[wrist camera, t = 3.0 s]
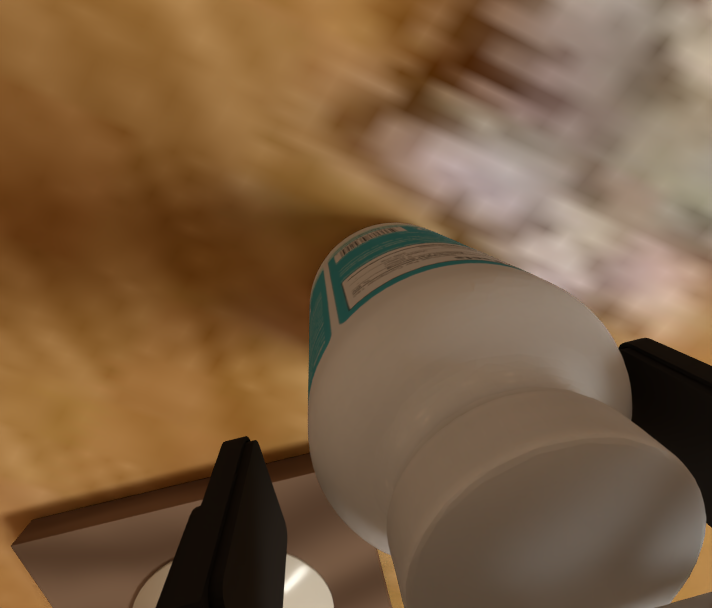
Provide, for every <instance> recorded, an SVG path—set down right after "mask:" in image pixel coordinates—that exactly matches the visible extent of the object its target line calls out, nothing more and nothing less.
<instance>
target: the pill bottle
mask: <svg viewBox="0 0 712 608" xmlns="http://www.w3.org/2000/svg"><path fill="white" fill-rule="evenodd" d="M631 418H632V394H631V386H630V381H629V376H628V372H627V369H626V366H625V363H624V360H623V358H622V355H621V353H620V351H619V349H618V347H617V345H616V343H615V341H614V339H613V338H612V336H611V335H610V333H609V332H608V330H607V329H606V327H605V326H604V324H603V323H602V322H601V321H600V320H599V319H598V318H597V317H596V315H595V314H594V313H593V312H592V311H591V310H590V309H589V308H587V307H586V306H585V305H584V304H583V303H582V302H580V301H579V300H578V299H577V298H575V297H574V296H572V295H571V294H570V293H568V292H567V291H565V290H563V289H561V288H559V287H557V286H556V285H554V284H552V283H550V282H548V281H545V280H543V279H541V278H539V277H537V276H535V275H533V274H530V273H528V272H526V271H524V270H522V269H519V268H517V267H514V266H512V265H510V264H507V263H505V262H503V261H501V260H498V259H496V258H494V257H492V256H489V255H487V254H485V253H482V252H480V251H477V250H475V249H473V248H470V247H468V246H466V245H463V244H461V243H459V242H456V241H454V240H452V239H449V238H447V237H445V236H442V235H440V234H438V233H435V232H433V231H430V230H428V229H425V228H422V227H419V226H416V225H412V224H406V223H383V224H378V225H373V226H370V227H366V228H364V229H362V230H359V231H357V232H355V233H353V234H352V235H350V236H348V237H347V238H345V239H344V240H343V241H342V242H340V243H339V244H338V245H337V246H336V247H335V248H334V249H333V250H332V251H331V252H330V253H329V254H328V256H327V257H326V258H325V260H324V261H323V263H322V264H321V266H320V268H319V270H318V272H317V274H316V277H315V279H314V282H313V285H312V290H311V296H310V313H309V380H308V440H309V448H310V455H311V460H312V464H313V468H314V471H315V474H316V477H317V479H318V482H319V484H320V487H321V489H322V491H323V493H324V494H325V496H326V498H327V500H328V501H329V503H330V504H331V506H332V507H333V509H334V510H335V511H336V513H337V514H338V516H339V517H340V518H341V519H342V520H343V521H344V522H345V523H346V524H347V526H348V527H349V528H351V529H352V530H353V531H354V532H355V533H356V534H357V535H359V536H360V537H361V538H362V539H363V540H365V541H366V542H368V543H369V544H370V545H372V546H374V547H375V548H377V549H379V550H381V551H382V552H384V553H387V554H389V555H391V557H392V560H393V564H394V567H395V571H396V575H397V580H398V584H399V588H400V592H401V597H402V601H403V604H404V607H405V608H656V607H659V606H663V605H667V604H670V603H671V601H672V600H673V599H674V597H675V596H676V595H677V593H678V592H679V591H680V589H681V588H682V587H683V585H684V584H685V582H686V581H687V579H688V577H689V576H690V574H691V572H692V570H693V568H694V566H695V564H696V562H697V559H698V556H699V553H700V550H701V548H702V544H703V540H704V537H705V527H706V513H705V506H704V501H703V498H702V494H701V491H700V489H699V487H698V485H697V483H696V480H695V478H694V477H693V476H692V474H691V473H690V471H689V470H688V469H687V468H686V466H685V465H684V464H683V463H682V462H681V461H680V460H679V459H678V458H677V457H676V456H675V455H674V454H673V453H672V452H670V451H669V450H668V449H666V448H665V447H664V446H663V445H661V444H660V443H659V442H658V441H656V440H655V439H654V438H653V437H651V436H650V435H649V434H648V433H646V432H645V431H644V430H643V429H641V428H640V427H639V426H637V425H636V424H635V423H633V422H632V421H631Z"/></svg>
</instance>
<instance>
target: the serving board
mask: <svg viewBox="0 0 712 608" xmlns="http://www.w3.org/2000/svg"><path fill="white" fill-rule="evenodd" d="M266 467H267V470H268V473H269V476H270V478H271V481H272V484H273V487H274V490H275V493H276V496H277V499H278V502H279V505H280V508H281V511H282V514H283V517H284V520H285V523H286V527H287V554H286V569H285V584H284V599H283V608H392V606H391V602H390V598H389V594H388V590H387V586H386V582H385V578H384V575H383V571H382V567H381V563H380V559H379V555H378V551H377V548H375V547H374V546H372V545H370V544H369V543H368V542H366V541H365V540H363V539H362V538H361V537H360V536H359V535H357V534H356V533H355V532H354V531H353V530H352V529H351V528H349V527H348V526H347V524H346V523H345V522H344V521H343V520H342V519H341V518H340V517H339V516H338V514H337V513H336V511H335V510H334V509H333V507H332V506H331V504H330V503H329V501H328V500H327V498H326V496H325V494H324V493H323V491H322V489H321V487H320V484H319V482H318V479H317V477H316V474H315V471H314V468H313V464H312V460H311V455H310V453H309V454H305V455H301V456H297V457H292V458H288V459H284V460H280V461H276V462H272V463H268V464H266ZM210 478H211V477H209V478H205V479H201V480H197V481H193V482H189V483H184V484H180V485H176V486H172V487H168V488H164V489H159V490H155V491H151V492H147V493H143V494H139V495H134V496H130V497H126V498H122V499H118V500H114V501H110V502H105V503H101V504H97V505H93V506H89V507H85V508H80V509H76V510H72V511H68V512H64V513H60V514H56V515H51V516H47V517H43V518H39V519H35V520H32V521H31V522H30V523H29V524H28V526H27V527H26V528H25V529H24V531H23V532H22V533H21V534H20V535H19V537H18V538H17V539H16V540H15V542H14V543H13V544H12V545H11V547H12V549H13V550H14V552H15V553H16V555H17V556H18V557H19V559H20V560H21V562H22V563H23V565H24V566H25V568H26V569H27V571H28V572H29V573H30V575H31V576H32V578H33V579H34V581H35V582H36V584H37V585H38V587H39V588H40V589H41V591H42V592H43V594H44V595H45V597H46V598H47V600H48V601H49V603H50V604H51V606H52V607H53V608H156V605H157V602H158V599H159V597H160V594H161V591H162V589H163V586H164V583H165V581H166V578H167V575H168V573H169V570H170V567H171V565H172V562H173V559H174V556H175V554H176V551H177V548H178V546H179V543H180V540H181V538H182V535H183V532H184V530H185V527H186V524H187V522H188V519H189V516H190V514H191V512H192V510H193V509H194V508H196V507H198V506H201V503H202V501H203V498H204V495H205V492H206V489H207V486H208V483H209V480H210Z"/></svg>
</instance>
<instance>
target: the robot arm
mask: <svg viewBox="0 0 712 608" xmlns="http://www.w3.org/2000/svg"><path fill="white" fill-rule="evenodd" d="M618 349H619V351H620V353H621V355H622V358H623V360H624V363H625V366H626V369H627V372H628V376H629V381H630V386H631V394H632V418H631V421H632V422H633V423H635V424H636V425H637V426H639V427H640V428H641V429H643V430H644V431H645V432H646V433H648V434H649V435H650V436H651V437H653V438H654V439H655V440H656V441H658V442H659V443H660V444H661V445H663V446H664V447H665V448H666V449H668V450H669V451H670V452H672V453H673V454H674V455H675V456H676V457H677V458H678V459H679V460H680V461H681V462H682V463H683V464H684V465H685V466H686V468H687V469H688V470H689V471H690V473H691V474H692V476H693V477H694V478H695V480H696V483H697V485H698V487H699V489H700V491H701V494H702V498H703V501H704V506H705V513H706V523H707V524H708V525H709V526H711V527H712V366H711V365H708V364H706V363H704V362H701V361H699V360H697V359H695V358H692V357H690V356H688V355H686V354H683V353H681V352H679V351H677V350H674V349H672V348H670V347H667V346H665V345H663V344H661V343H658V342H656V341H654V340H652V339H649V338H641V339H637V340H633V341H629V342H625V343H622V344H621V345H620V346H619V348H618ZM286 554H287V527H286V523H285V520H284V517H283V514H282V511H281V508H280V505H279V502H278V499H277V496H276V493H275V490H274V487H273V484H272V481H271V478H270V476H269V473H268V470H267V467H266V464H265V461H264V458H263V455H262V452H261V449H260V446H259V444H258V442H257V441H256V440H254V441H250V439H249V438H248V437H247V436H245V437H241V438H237V439H233V440H229V441H225V442H223V444H222V446H221V449H220V452H219V455H218V458H217V460H216V463H215V466H214V469H213V472H212V475H211V478H210V480H209V483H208V486H207V489H206V492H205V495H204V498H203V501H202V503H201V506H198V507H196V508H194V509H193V510H192V512H191V514H190V516H189V519H188V522H187V524H186V527H185V530H184V532H183V535H182V538H181V540H180V543H179V546H178V548H177V551H176V554H175V556H174V559H173V562H172V565H171V567H170V570H169V573H168V575H167V578H166V581H165V583H164V586H163V589H162V591H161V594H160V597H159V599H158V602H157V605H156V608H283V599H284V584H285V569H286ZM656 608H712V592H709V593H706V594H702V595H699V596H695V597H692V598H688V599H684V600H681V601H677V602H674V603H670V604H667V605H663V606H659V607H656Z"/></svg>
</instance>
